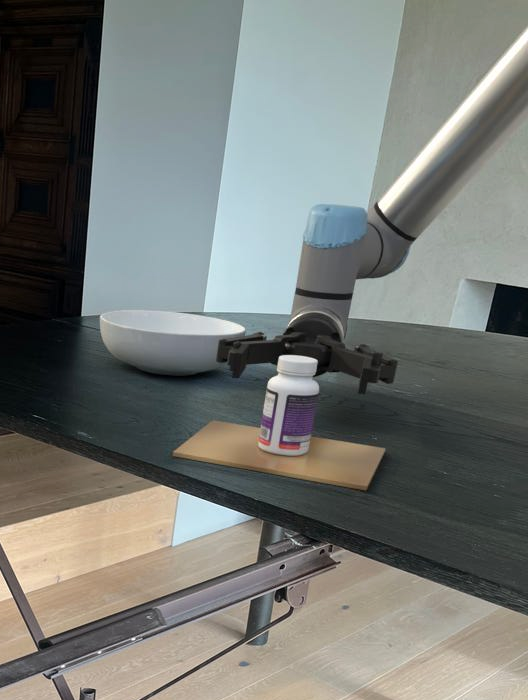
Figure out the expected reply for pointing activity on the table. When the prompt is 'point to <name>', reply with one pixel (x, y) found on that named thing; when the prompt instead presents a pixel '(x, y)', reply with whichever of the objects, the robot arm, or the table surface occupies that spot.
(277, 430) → the pill bottle
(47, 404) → the table surface
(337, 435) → the table surface
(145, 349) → the serving bowl
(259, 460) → the cork mat
